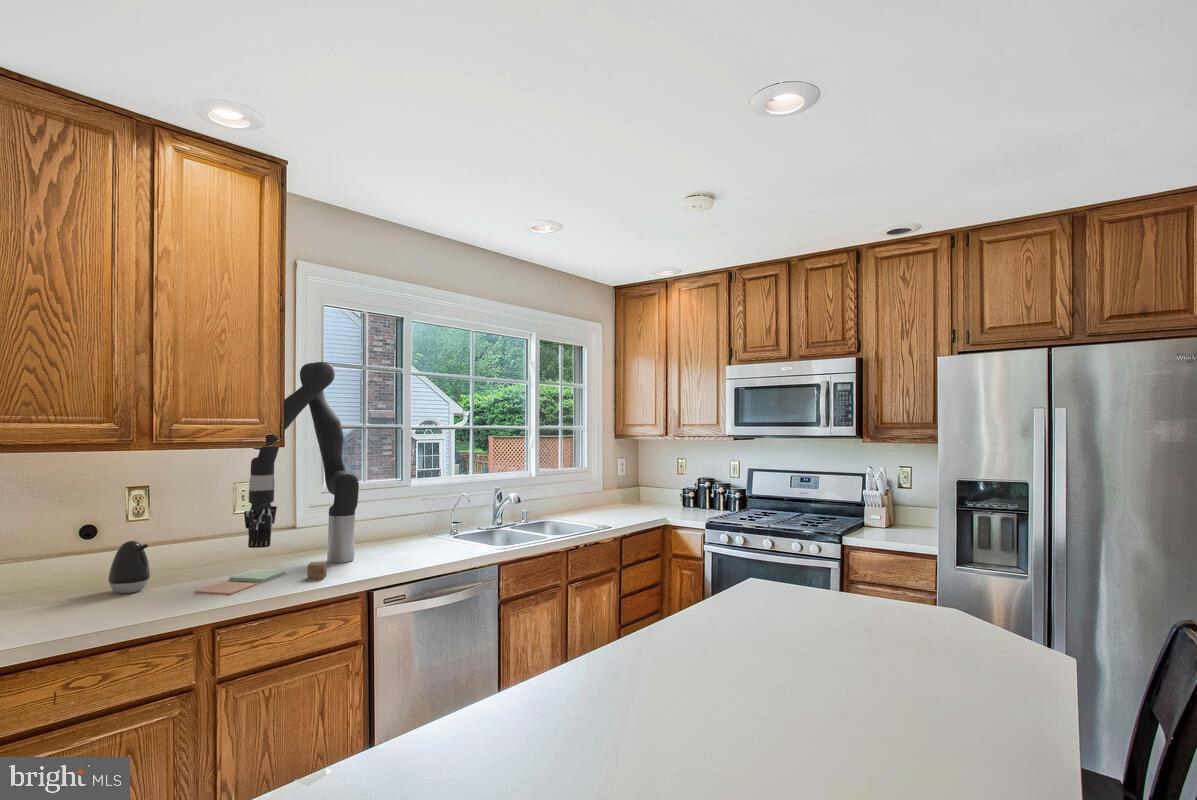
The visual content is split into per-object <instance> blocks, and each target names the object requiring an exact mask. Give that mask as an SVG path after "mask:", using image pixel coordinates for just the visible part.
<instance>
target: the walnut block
mask: <svg viewBox="0 0 1197 800" xmlns="http://www.w3.org/2000/svg"><path fill="white" fill-rule="evenodd" d="M327 563H328V562H327V561H311V562H309V563H308V564H307V573H306V575H307V576H306V580H307V581H321V580H322V581H324V579H325V578H326V577H327V570H328V569H327V567H328V566H327V565H328V564H327Z"/></svg>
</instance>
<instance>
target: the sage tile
mask: <svg viewBox="0 0 1197 800" xmlns="http://www.w3.org/2000/svg"><path fill="white" fill-rule="evenodd" d="M284 574H285V575H286V574H287V570H280V569H264V568H263V569H261V568H259V569H258V568H252V569H249V570H247V571H243V572H241V573H237V574H235V575H231V576H229V578H228V579H229V580H228V582H239V581H247V582H246V583H258V582H264V583H266V581H267V582H269V581H271V579H272V580H274V578H275V579H277V578H279V576H280V577H282V576H285V575H284ZM281 575H282V576H281ZM276 577H277V578H276ZM268 580H269V581H268Z"/></svg>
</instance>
